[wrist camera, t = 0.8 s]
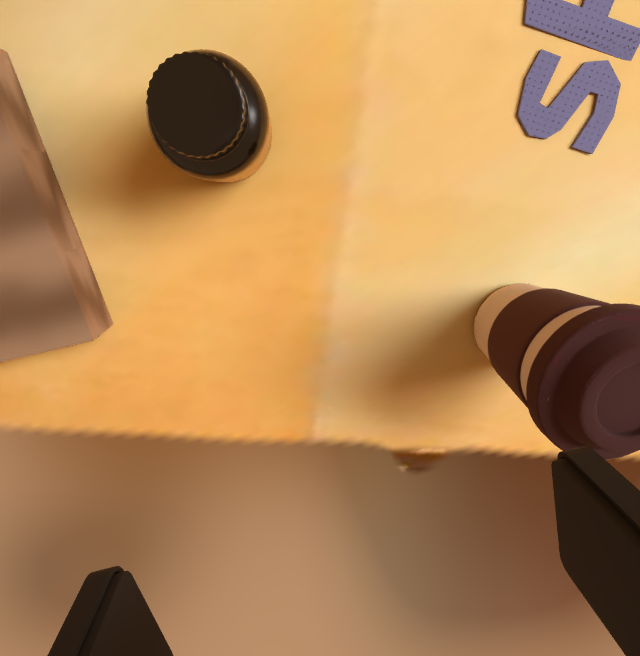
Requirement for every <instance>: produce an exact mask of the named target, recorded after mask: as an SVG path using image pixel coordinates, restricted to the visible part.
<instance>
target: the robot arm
mask: <svg viewBox="0 0 640 656" xmlns="http://www.w3.org/2000/svg"><path fill="white" fill-rule="evenodd" d="M552 477H553V486H554V487H553V488H554V497H555V509H556V519H557V531H558V541H559V552H560V558H561V561H562V563H563V566H564V568H565V570H566V571H567V573H568V575H569V576H570V577H571V579H572V580H573V582H574V583H575V584H576V586H577V587H578V589H579V590H580V591H581V593H582V594H583V596H584V597H585V599H586V600H587V601H588V603H589V604H590V606H591V607H592V609H593V610H594V611H595V613H596V614H597V616H598V617H599V618H600V620H601V621H602V623H603V624H604V625H605V627H606V628H607V630H608V631H609V632H610V634H611V635H612V637H613V638H614V640H615V641H616V642H617V644H618V645H619V647H620V648H621V649H622V651H623V652H624V654H625V655H626V656H640V491H639V490H638V489H637V488H636V487H635V486H634V485H633V484H631V483H630V482H629V481H628V480H627V479H626V478H625V477H624V476H623V475H621V474H620V473H619V472H618V471H617V470H616V469H615V468H614V467H612V466H611V465H610V464H609V463H608V462H607V461H606V460H605V459H603V458H602V457H601V456H600V455H599V454H598V453H597V452H596V451H594V450H593V449H592V448H591V447H589V446H586V445H585V446H581V447H577V448H573V449H569V450H565V451H562V452H559V454H558V460H556V461H553V462H552ZM48 656H173V654H172V651H171V650H170V647H169V645H168V644H167V642H166V640H165V638H164V636H163V634H162V632H161V630H160V628H159V626H158V624H157V622H156V620H155V618H154V617H153V615H152V613H151V611H150V609H149V607H148V605H147V603H146V601H145V599H144V597H143V595H142V594H141V591H140V590H139V588H138V586H137V584H136V582H135V580H134V578H133V576H132V574H131V573H130V572H129V571H124V570H123V569H122V568H121V567H119V566H116V567H111V568H108V569H104V570H100V571H96V572H92V573H90V574H89V575H88V576H87V578H86V579H85V581H84V583H83V585H82V587H81V589H80V591H79V593H78V595H77V597H76V600H75V601H74V603H73V605H72V607H71V609H70V611H69V613H68V615H67V617H66V619H65V621H64V624H63V626H62V627H61V629H60V632H59V634H58V636H57V638H56V640H55V642H54V644H53V646H52V648H51V650H50V652H49V654H48Z"/></svg>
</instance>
